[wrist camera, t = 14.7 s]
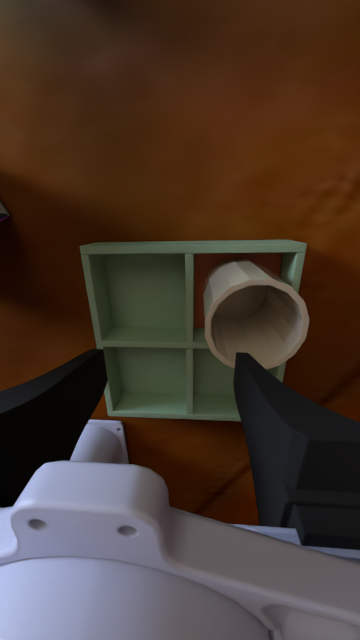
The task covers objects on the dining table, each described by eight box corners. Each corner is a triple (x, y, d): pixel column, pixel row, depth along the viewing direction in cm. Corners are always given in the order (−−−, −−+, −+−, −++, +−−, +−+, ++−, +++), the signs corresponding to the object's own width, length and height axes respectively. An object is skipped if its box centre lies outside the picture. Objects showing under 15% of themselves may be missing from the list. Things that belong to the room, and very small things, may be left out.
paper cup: (265, 321, 22) (299, 372, 14) (201, 320, 22) (203, 370, 15) (273, 256, 20) (318, 278, 12) (203, 257, 20) (206, 279, 13)
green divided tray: (266, 397, 26) (275, 422, 23) (118, 392, 27) (108, 416, 24) (289, 239, 20) (307, 243, 16) (97, 242, 21) (78, 246, 18)
